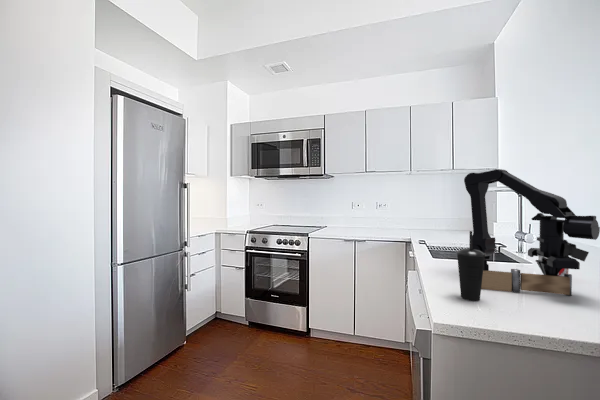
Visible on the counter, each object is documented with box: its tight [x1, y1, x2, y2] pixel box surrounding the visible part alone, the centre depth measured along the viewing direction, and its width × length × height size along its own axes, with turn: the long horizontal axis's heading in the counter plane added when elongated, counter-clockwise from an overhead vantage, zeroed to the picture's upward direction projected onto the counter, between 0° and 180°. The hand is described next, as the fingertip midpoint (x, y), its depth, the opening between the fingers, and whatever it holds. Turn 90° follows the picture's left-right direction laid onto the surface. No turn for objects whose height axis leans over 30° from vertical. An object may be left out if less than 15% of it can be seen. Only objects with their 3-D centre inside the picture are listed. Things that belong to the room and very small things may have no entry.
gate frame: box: [481, 268, 573, 297], centre depth 92 cm, size 26×4×7 cm, turn 70°
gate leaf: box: [520, 272, 570, 296], centre depth 89 cm, size 12×1×5 cm, turn 70°
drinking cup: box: [455, 230, 486, 302], centre depth 85 cm, size 8×8×20 cm
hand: (550, 284), depth 91 cm, fingers closed
